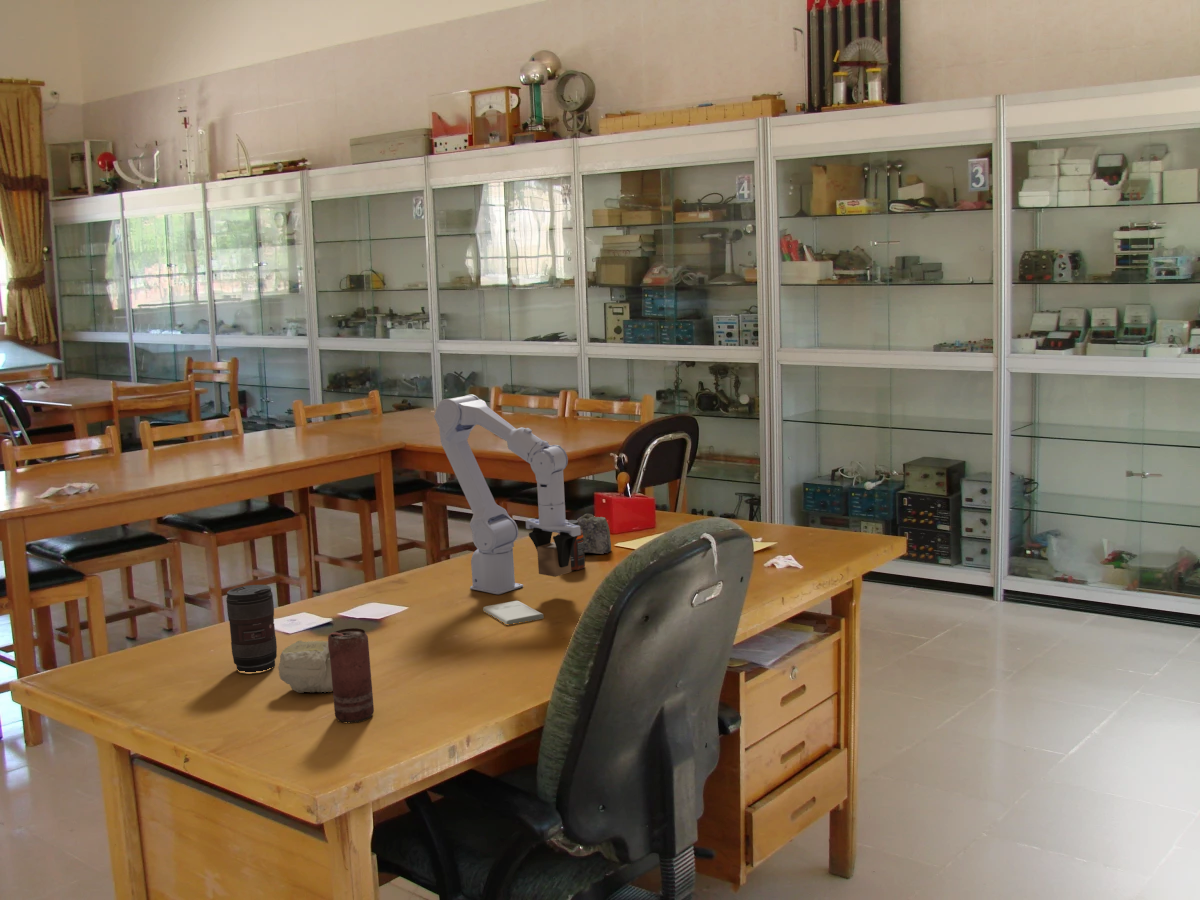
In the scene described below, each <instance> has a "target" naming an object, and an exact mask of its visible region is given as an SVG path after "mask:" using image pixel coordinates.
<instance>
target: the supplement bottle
mask: <svg viewBox="0 0 1200 900" xmlns="http://www.w3.org/2000/svg"><path fill="white" fill-rule="evenodd" d="M567 520H568V519H567ZM568 522H569V523H571V524H574V525H577V526H579V525H578V521H577V520H576V519H569V520H568ZM580 531H581V535H578V537H577V539H576V541H575V543H574V545H573V547H572V550H571V554H570V555H571V572H574V570H576V571H580V570H582V569H584V568H585V566H586V560H585V559H586V558H585V557H586V556H585V553H584V539H583V532H582V530H580ZM557 534H558V535H560V533H557Z"/></svg>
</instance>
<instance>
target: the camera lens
mask: <svg viewBox="0 0 1200 900" xmlns="http://www.w3.org/2000/svg"><path fill="white" fill-rule="evenodd" d="M273 597H274V595H273V591H272V588H271V586H270V585H267V584H266V585H265V584H251V585H243V586H238V587H234V588H232V589H229V590H228V591H227V592H226V599H225V600H226V601H225V602H226V609H227V619H228V622H229V631H230V645H231V655H232V658H233V663H234V665H235V666H236V670H237V669H238V670H239V671H245V672H256V671H263V670H267V669H269V668H272V667H274V666H276V660H277V659H276V658H277V657H278V655H277V654H278V653H277V652H278V651H277V650H278V649H277V648H278V645H277V643H278V642H277V636H276V629H275V623H274V622H275V618H274V617H275V604H274V598H273ZM274 668H275V667H274Z"/></svg>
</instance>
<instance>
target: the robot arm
mask: <svg viewBox="0 0 1200 900" xmlns="http://www.w3.org/2000/svg"><path fill="white" fill-rule="evenodd" d="M433 417H434V419H435V421H436V424H437V426H438V429H439V437H440V438H439V439H440V443H441V447H442V449H443V450H444V453H445V455H446V457H447V460H448V462H449V464H450V466H451V467H452V468H451V469H452V470H453V472H454V474H455V477H456V479H457V481H458V484H459V485H460V488H461V490H462V492H463V495H464V496H465V499H466V501H467V503H468V505H469V507H470V509H471V512H472V518H471V519H470V522H469V528H470V530H471V535H472V536H471V537H472V542H473V544H474V547H476V550H474V552H472V553H473V554H472V556H471V560H470V565H471V568H470V569H471V579H472V585H471V586H470V587H469V589H470V590H475V591H479V592H484V593H489V594H493V595H502V594H505V593H507V592H511V591H514V590H517V589H520V588H523V587H524V584H523V583H522V584H521V583H518V582H516V579H515V566H514V565H515V563H514V549H513V548H514V547H515V544H514V543H515V542H516V540H517V539H518V536H519V527H518V525H517V523H516V521H515V520H514V519H513V518H512V517H511V516H510V515H509V513H508V511H507V510H506V508H504V507H502V506H500V505H498V504H497V503H496V501H495V498H494V496H493V494H492V492H491V490H490V487H489V485H488V482H487V481H486V479H485V477H484V475H483V472H482V470H481V468H480V466H479V463H478V462H477V461H478V460H477V459H476V457H475V455H474V453H473V450H472V448H471V446H470V444H469V442H468V440H469V436H470V434H471V432H472V431H473V429H474V428H475V426H476V425H479V426H481V428H484V429H485V430H487V431H488V432H490V433H492V434H493V435H495V436H497V437H498V438H500V439H502V440H503V441H505V442H506V444H507V448H508V450H509V451H510V452H512V453H513V454H514V455H516V456H518V457H519V458H520V459H522V460H524V461H525V462H526V463H528V465H529V464H530V468H531V471H532V472H533V474H534V475H535V481H536V488H537V504H538V505H537V507H538V509H537V510H538V518H529V519H525V529H526V530H531V529H532V531H531V532H528V537H529V538H530V540H531V541H532V543H533V545H534V547H535V550H537V547H538V546H541V545H545V544H548V543H552V542H551V540H552V539H553V542H555V544H556V548H557V552H558V562H559V566H560V567H566V566H568V564H569V559H570V554H571V550H572V547H573V545H574V543H575V541H576V539H577V537H578V535H581V531H580V526H577V525H574V524H571V523H569V522H568V519H566V502H565V500H566V499H565V497H566V496H565V484H564V483H565V482H564V481H565V480H564V470H565V469H566V467H567V466H568V463H569V457H568V454H567V452H566V450H565V449H564V448H562V446H561V445H558V444H551V445H550V444H549V442H548V441H547V440H543V439H542V438H540V437H538V436H537V435H535V434H534V433H533V430H532V429H531V428H529V427H526V428H525V427H518V428H516V427H514V426H513V425H512V424H511V423H509V422H508V421H507V420H505V419H504V418H503V417H501V416H500V415H499V414H498V413H496V412H495V410H493V409H492V408H490V407H489V406H488V404H487V403H486V401H485V400H483V399H481V398H479V397H478V396H477V395H475V394H472V393H471V394H466V395H464V396H457V397H452V398H451V397H450V398H444V399H441V400H440V402H439V403H438V404H437V406H436V409H435V413H434V415H433ZM553 533H556V535H557V534H558V533H560V535H557V536H556V535H553ZM552 535H553V536H552Z"/></svg>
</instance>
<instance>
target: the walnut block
mask: <svg viewBox="0 0 1200 900" xmlns="http://www.w3.org/2000/svg"><path fill="white" fill-rule="evenodd" d="M536 552H537V567H538V574H539V575H544V576H549V577H554V578H555V577H559V576H562V575H565V574H568V573H572V571H571V555H570V559H569V564H568V566H566V567H560V566H559V562H558V552H557V548H556V544H555V542H554V541H552V542H550V543H548V544H545V545H541V546H538V547H537V549H536Z"/></svg>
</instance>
